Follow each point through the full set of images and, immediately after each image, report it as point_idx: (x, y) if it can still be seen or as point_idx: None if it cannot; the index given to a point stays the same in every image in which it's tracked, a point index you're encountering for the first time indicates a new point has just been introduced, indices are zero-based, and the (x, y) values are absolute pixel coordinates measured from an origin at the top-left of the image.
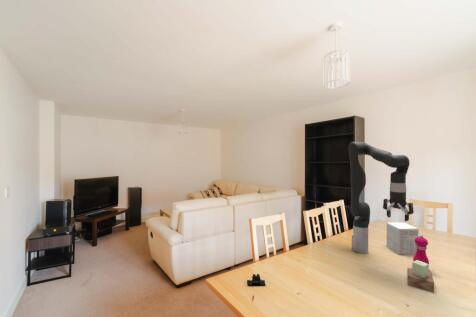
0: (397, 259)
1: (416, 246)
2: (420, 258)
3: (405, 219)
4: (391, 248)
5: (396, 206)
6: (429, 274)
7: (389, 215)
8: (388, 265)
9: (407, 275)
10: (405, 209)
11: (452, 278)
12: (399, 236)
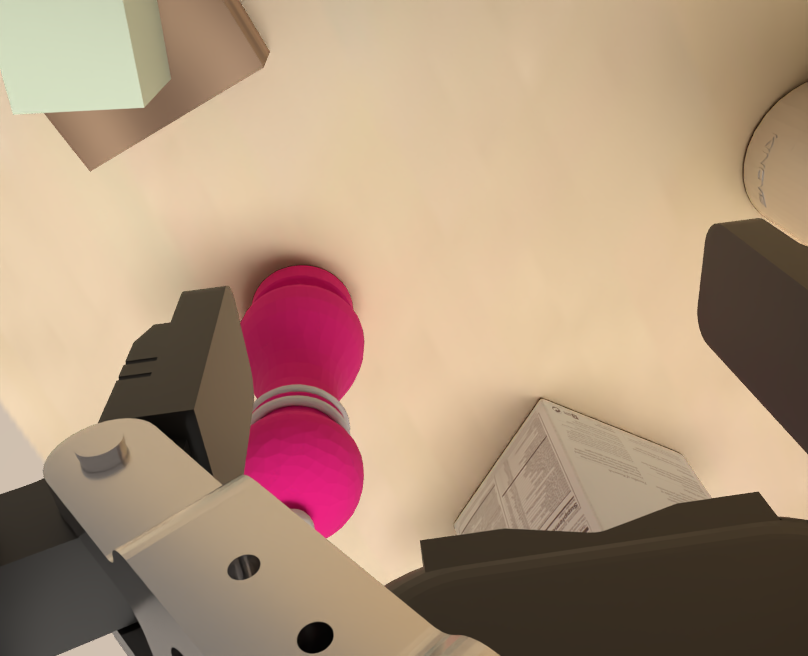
0: (500, 299)
1: (325, 400)
2: (277, 326)
3: (192, 309)
4: (628, 437)
5: (657, 617)
6: (77, 123)
7: (736, 283)
8: (481, 95)
9: (257, 34)
10: (158, 653)
11: (100, 365)
12: (595, 525)
